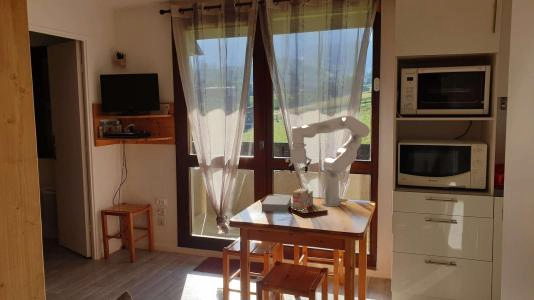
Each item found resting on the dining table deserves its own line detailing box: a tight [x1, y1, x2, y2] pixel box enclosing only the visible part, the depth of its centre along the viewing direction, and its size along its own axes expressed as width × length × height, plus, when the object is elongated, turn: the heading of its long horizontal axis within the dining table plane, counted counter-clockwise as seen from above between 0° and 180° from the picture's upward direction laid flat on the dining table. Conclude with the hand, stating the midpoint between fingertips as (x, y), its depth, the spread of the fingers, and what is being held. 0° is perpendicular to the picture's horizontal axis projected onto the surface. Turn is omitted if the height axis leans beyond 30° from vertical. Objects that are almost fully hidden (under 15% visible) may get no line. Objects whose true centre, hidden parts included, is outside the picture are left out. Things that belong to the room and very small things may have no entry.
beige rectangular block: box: [292, 188, 314, 211], centre depth 277 cm, size 21×6×12 cm, turn 155°
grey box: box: [261, 195, 292, 213], centre depth 280 cm, size 16×26×5 cm, turn 171°
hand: (298, 172), depth 277 cm, fingers open, 9 cm apart
